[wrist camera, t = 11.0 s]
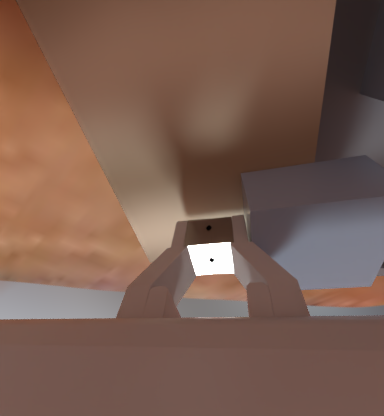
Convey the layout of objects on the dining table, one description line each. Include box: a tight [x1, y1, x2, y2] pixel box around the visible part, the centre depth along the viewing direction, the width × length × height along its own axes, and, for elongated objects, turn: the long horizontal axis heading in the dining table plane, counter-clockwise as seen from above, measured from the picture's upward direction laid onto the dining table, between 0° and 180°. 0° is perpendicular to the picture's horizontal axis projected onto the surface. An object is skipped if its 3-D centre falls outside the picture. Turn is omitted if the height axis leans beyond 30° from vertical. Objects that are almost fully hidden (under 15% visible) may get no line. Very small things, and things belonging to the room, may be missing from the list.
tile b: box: [241, 155, 384, 290], centre depth 8 cm, size 4×4×2 cm
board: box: [16, 0, 336, 262], centre depth 10 cm, size 12×8×3 cm
